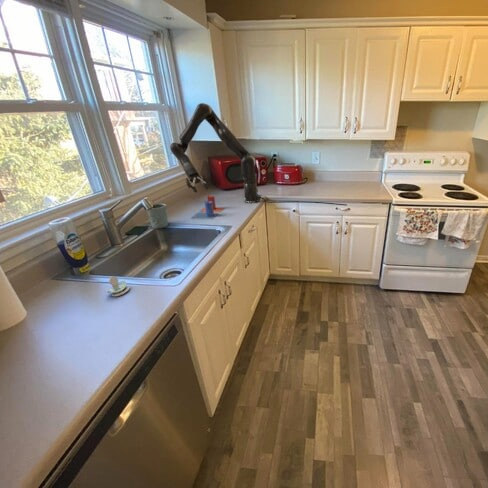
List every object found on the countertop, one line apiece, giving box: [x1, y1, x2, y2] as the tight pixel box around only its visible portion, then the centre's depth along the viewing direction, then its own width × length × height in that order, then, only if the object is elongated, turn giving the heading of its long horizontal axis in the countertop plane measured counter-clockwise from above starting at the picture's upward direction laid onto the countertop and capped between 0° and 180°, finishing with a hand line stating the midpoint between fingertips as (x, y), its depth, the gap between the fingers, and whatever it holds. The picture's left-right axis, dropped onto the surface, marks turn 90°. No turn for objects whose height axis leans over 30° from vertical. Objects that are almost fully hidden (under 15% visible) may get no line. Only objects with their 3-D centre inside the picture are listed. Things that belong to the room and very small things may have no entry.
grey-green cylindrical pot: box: [146, 203, 169, 229], centre depth 161 cm, size 10×10×12 cm
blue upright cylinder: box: [204, 200, 215, 218], centre depth 177 cm, size 5×5×9 cm
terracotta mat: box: [201, 207, 225, 213], centre depth 191 cm, size 13×9×1 cm
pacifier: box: [104, 275, 131, 297], centre depth 101 cm, size 7×6×6 cm
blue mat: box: [191, 212, 219, 219], centre depth 179 cm, size 13×10×1 cm
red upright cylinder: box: [206, 195, 217, 210], centre depth 189 cm, size 5×5×9 cm
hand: (201, 190), depth 194 cm, fingers open, 8 cm apart
